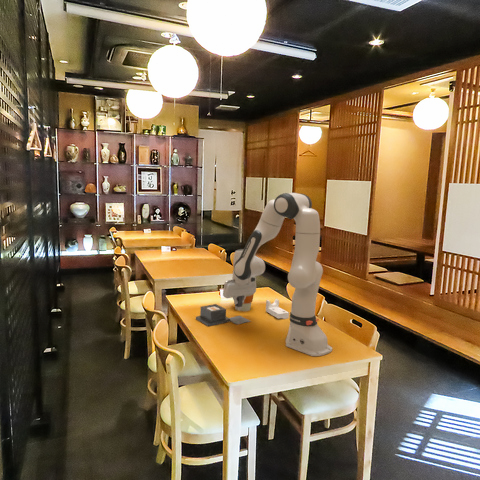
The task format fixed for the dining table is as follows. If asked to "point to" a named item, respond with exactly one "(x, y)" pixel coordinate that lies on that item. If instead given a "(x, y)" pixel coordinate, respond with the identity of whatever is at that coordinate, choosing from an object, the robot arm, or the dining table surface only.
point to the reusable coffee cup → (247, 303)
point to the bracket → (276, 310)
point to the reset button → (212, 308)
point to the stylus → (239, 303)
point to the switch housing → (212, 315)
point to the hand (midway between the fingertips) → (239, 303)
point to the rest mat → (239, 320)
